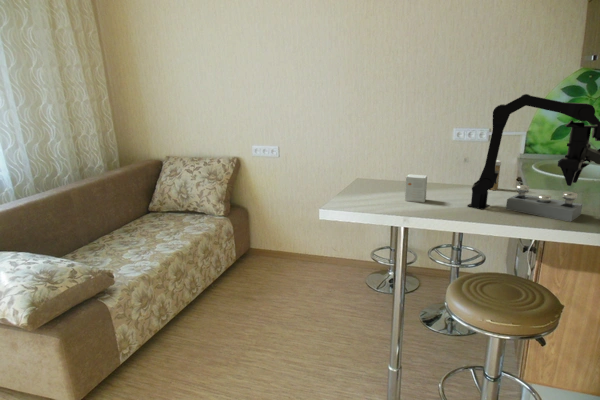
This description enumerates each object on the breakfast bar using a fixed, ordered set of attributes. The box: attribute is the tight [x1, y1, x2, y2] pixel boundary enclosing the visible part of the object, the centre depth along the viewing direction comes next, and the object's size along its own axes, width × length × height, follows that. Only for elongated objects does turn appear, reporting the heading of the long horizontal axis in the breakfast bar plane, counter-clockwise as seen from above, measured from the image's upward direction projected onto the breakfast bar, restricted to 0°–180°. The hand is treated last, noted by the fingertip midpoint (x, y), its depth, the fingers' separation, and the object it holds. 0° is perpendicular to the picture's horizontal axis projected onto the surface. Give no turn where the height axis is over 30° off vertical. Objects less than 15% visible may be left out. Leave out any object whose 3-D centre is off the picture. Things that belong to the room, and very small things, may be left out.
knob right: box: [562, 191, 578, 207], centre depth 147 cm, size 4×4×5 cm
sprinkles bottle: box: [489, 159, 502, 191], centre depth 187 cm, size 5×5×13 cm
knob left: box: [515, 184, 530, 199], centre depth 158 cm, size 4×4×5 cm
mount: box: [505, 193, 583, 222], centre depth 154 cm, size 12×22×4 cm, turn 43°
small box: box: [404, 173, 428, 203], centre depth 171 cm, size 8×6×10 cm
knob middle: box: [537, 194, 552, 203], centre depth 153 cm, size 4×4×5 cm
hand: (571, 184), depth 145 cm, fingers open, 6 cm apart
